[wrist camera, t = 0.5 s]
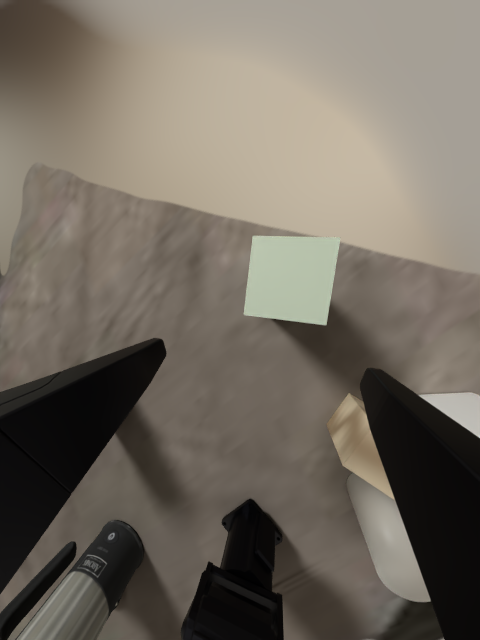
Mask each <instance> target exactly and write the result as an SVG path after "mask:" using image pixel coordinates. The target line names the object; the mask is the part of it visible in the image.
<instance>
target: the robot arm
mask: <svg viewBox="0 0 480 640" xmlns="http://www.w3.org/2000/svg"><path fill="white" fill-rule="evenodd" d="M165 357H166V349H165V345H164V342H163V340H162V339H158V338H153V339H150V340H147V341H144V342H141V343H139V344H136V345H133V346H130V347H127V348H125V349H122V350H119V351H116V352H114V353H111V354H108V355H105V356H102V357H100V358H97V359H94V360H91V361H88V362H86V363H83V364H80V365H77V366H75V367H72V368H69V369H66V370H63V371H62V372H58V373H55V374H52V375H49V376H47V377H44V378H41V379H38V380H35V381H32V382H29V383H26V384H23V385H20V386H17V387H14V388H11V389H8V390H5V391H2V392H0V594H1V592H2V591H3V590H4V588H5V587H6V586H7V584H8V583H9V581H10V580H11V579H12V577H13V576H14V574H15V573H16V572H17V570H18V569H19V567H20V566H21V565H22V563H23V562H24V560H25V559H26V558H27V556H28V555H29V553H30V552H31V550H32V549H33V548H34V546H35V545H36V543H37V542H38V541H39V539H40V538H41V536H42V535H43V534H44V532H45V531H46V529H47V528H48V527H49V525H50V524H51V522H52V521H53V520H54V518H55V517H56V515H57V514H58V512H59V511H60V510H61V508H62V507H63V505H64V504H65V503H66V501H67V500H68V498H69V497H70V496H71V493H72V492H73V491H74V490H75V488H76V487H77V485H78V484H79V483H80V481H81V480H82V478H83V477H84V476H85V474H86V473H87V471H88V470H89V469H90V467H91V466H92V464H93V463H94V462H95V460H96V459H97V457H98V456H99V455H100V453H101V452H102V450H103V449H104V448H105V446H106V445H107V443H108V442H109V441H110V439H111V438H112V436H113V435H114V434H115V432H116V431H117V429H118V428H119V426H120V425H121V424H122V422H123V421H124V419H125V418H126V417H127V415H128V414H129V412H130V411H131V410H132V408H133V407H134V405H135V404H136V403H137V401H138V400H139V398H140V397H141V396H142V394H143V393H144V391H145V390H146V389H147V387H148V386H149V384H150V383H151V381H152V379H153V378H154V376H155V374H156V372H157V371H158V369H159V367H160V366H161V364H162V362H163V360H164V359H165ZM360 390H361V394H362V398H363V403H364V407H365V411H366V415H367V420H368V424H369V427H370V431H371V434H372V437H373V440H374V442H375V445H376V448H377V451H378V454H379V456H380V459H381V462H382V465H383V468H384V470H385V473H386V476H387V479H388V482H389V485H390V487H391V490H392V493H393V496H394V499H395V501H396V504H397V507H398V510H399V513H400V515H401V518H402V521H403V524H404V527H405V530H406V532H407V535H408V538H409V541H410V544H411V546H412V549H413V552H414V555H415V558H416V560H417V563H418V566H419V569H420V572H421V575H422V577H423V580H424V583H425V586H426V589H427V591H428V594H429V597H430V600H431V603H432V605H433V608H434V611H435V614H436V617H437V620H438V622H439V625H440V628H441V631H442V634H443V636H444V639H445V640H480V438H479V437H478V436H476V435H475V434H473V433H472V432H470V431H469V430H468V429H466V428H465V427H463V426H462V425H460V424H459V423H457V422H456V421H455V420H453V419H452V418H450V417H449V416H447V415H446V414H445V413H443V412H442V411H440V410H439V409H437V408H436V407H434V406H433V405H432V404H430V403H429V402H427V401H426V400H424V399H423V398H421V397H420V396H419V395H417V394H416V393H414V392H413V391H411V390H410V389H409V388H407V387H406V386H404V385H403V384H401V383H400V382H398V381H397V380H396V379H394V378H393V377H391V376H390V375H388V374H387V373H385V372H384V371H383V370H381V369H375V368H367V369H366V371H365V373H364V376H363V378H362V380H361V383H360ZM222 525H223V526H224V528H225V529H226V530H227V531H228V537H227V541H226V545H225V549H224V554H223V558H222V562H221V566H220V568H219V567H217V566H215V565H213V563H211V562H208V565H207V568H206V571H205V570H204V572H203V573H202V575H201V579H200V582H199V585H198V588H197V592H196V594H195V597H194V599H193V601H192V604H191V606H190V608H189V610H188V613H187V615H186V617H185V619H184V622H183V625H182V628H181V638H182V640H284V636H283V606H282V595H281V594H279V593H277V594H276V593H274V592H272V572H273V571H274V558H275V546H276V545H277V544H279V543H280V542H282V534H281V533H280V532H279V531H278V529H277V528H276V527H275V526H274V525H273V524H272V522H271V521H270V520H269V519H268V518H267V517H266V515H265V514H264V513H263V512H262V511H261V509H260V508H259V507H258V506H257V505H256V504H255V502H254V501H253V500H251V499H248V500H247V501H246V502H244V503H243V504H241V505H240V506H239V507H237V508H236V509H235V510H233V511H232V512H230V513H229V514H228V515H226V516H225V517H224V518H223V519H222Z"/></svg>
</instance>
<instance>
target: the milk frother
mask: <svg viewBox="0 0 480 640" xmlns="http://www.w3.org/2000/svg"><path fill="white" fill-rule="evenodd" d="M76 549H77V548H76V542H70V543H68V544H67V545H66V546H65V547H64V548H63V549H62V550H61V551H60V552H59V553H58V554H57V555H56V556H55V557H54V558H53V559H52V560H51V561H50V562H49V563H48V564H47V565H46V566H45V567H44V568H43V569H42V570H41V571H40V572H39V573H38V574H37V575H36V576H35V577H34V579H32V580H31V582H30V583H29V584H28V585H27V586H26V587H25V588H24V589H23V590H22V591H21V592H20V593H19V594H18V595H17V596H16V597H15V598H14V599H13V600H12V601H11V602H10V603H9V604H8V605H7V606H6V608H5V609H4V610H3V611H2V612H1V613H0V640H7V639H8V638H9V636H10V634H11V633H12V631H13V630H14V629H15V628H16V626H17V625H18V624H19V623H20V622H21V620H22V619H23V618H24V617H25V616H26V615H27V614H28V613H29V611H30V610H31V609H32V608H33V607H34V606H35V604H36V603H37V602H38V601H39V600H40V599H41V597H42V596H43V595H44V594H45V592H46V591H47V590H48V589H49V588H50V587H51V586H52V584H53V583H54V582H55V581H56V580H57V579H58V578H59V576H60V575H61V574H62V573H63V572H64V570H65V569H66V568H67V567H68V566H69V564H70V563H71V562H72V561H73V560H74V558H75V555H76ZM142 559H143V547H142V544H141V542H140V539H139V537H138V535H137V534H136V532H135V531H134V530H133V529H132V528H131V527H130V526H129V525H127V524H125V523H123V522H121V521H110V522H108V523H107V524H106V525H105V526H104V527H103V529H102V531H101V532H100V534H99V535H98V536H97V538H96V539H95V540H94V542H93V543H92V544H91V545H90V546H89V547H88V548H87V550H86V551H85V552H84V553H83V555H82V556H81V557H80V559H79V560H78V561H77V562H76V564H75V565H74V566H73V567H72V569H71V570H70V571H69V572H68V574H67V575H66V576H65V578H64V579H63V580H62V581H61V583H60V584H59V585H58V586H57V588H56V589H55V590H54V591H53V593H52V594H51V595H50V596H49V598H48V599H47V600H46V601H45V603H44V604H43V605H42V606H41V608H40V609H39V610H38V612H37V613H36V614H35V615H34V617H33V618H32V619H31V620H30V622H29V623H28V624H27V626H26V627H25V628H24V629H23V631H22V632H21V633H20V634H19V636H18V637H17V638H16V639H15V640H96V639H97V637H98V636H99V634H100V632H101V630H102V628H103V626H104V624H105V623H106V621H107V619H108V618H109V616H110V614H111V612H112V611H113V610H114V609H115V608H116V607H117V605H118V603H119V601H120V599H121V595H122V593H123V591H124V589H125V587H126V586H127V584H128V582H129V580H130V579H131V577H132V575H133V574H134V572H135V570H136V569H137V568H138V567H139V566H140V564H141V562H142Z"/></svg>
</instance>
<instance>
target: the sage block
mask: <svg viewBox="0 0 480 640" xmlns="http://www.w3.org/2000/svg"><path fill="white" fill-rule="evenodd" d="M339 243H340V238H332V237H286V236H253V240H252V248H251V257H250V266H249V274H248V283H247V291H246V300H245V309H244V315H248V316H256V317H264V318H272V319H280V320H288V321H295V322H303V323H311V324H319V325H327V318H328V312H329V306H330V300H331V293H332V287H333V281H334V274H335V268H336V262H337V256H338V249H339Z"/></svg>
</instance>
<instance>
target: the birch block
mask: <svg viewBox="0 0 480 640" xmlns="http://www.w3.org/2000/svg"><path fill="white" fill-rule="evenodd" d="M326 425H327V427H328V430H329V432H330V435H331V437H332V440H333V442H334V445H335V447H336V450H337V452H338V455H339V458H340V460H341V463H342V465H343V466H344V467H346V468H347V469H349V470H350V471H352V472H353V473H355V474H356V475H358V476H359V477H361V478H362V479H364V480H365V481H367V482H368V483H370V484H371V485H373V486H374V487H376V488H377V489H379V490H380V491H382V492H383V493H385V494H386V495H388V496H389V497H391V498H392V499H394V496H393V493H392V490H391V487H390V485H389V482H388V479H387V476H386V473H385V470H384V468H383V465H382V462H381V459H380V456H379V454H378V451H377V448H376V445H375V442H374V440H373V437H372V434H371V431H370V427H369V424H368V420H367V415H366V411H365V407H364V403H363V401H361V400H359V399H358V398H356V397H354V396H353V395H351V394H348V395H347V396H346V398H345V399H344V401H343V402H342V403H341V405H340V406H339V408H338V409H337V410H336V412H335V413H334V415H333V416H332V417H331V419H330V420H329V422H328V423H327V424H326ZM394 500H395V499H394Z"/></svg>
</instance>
